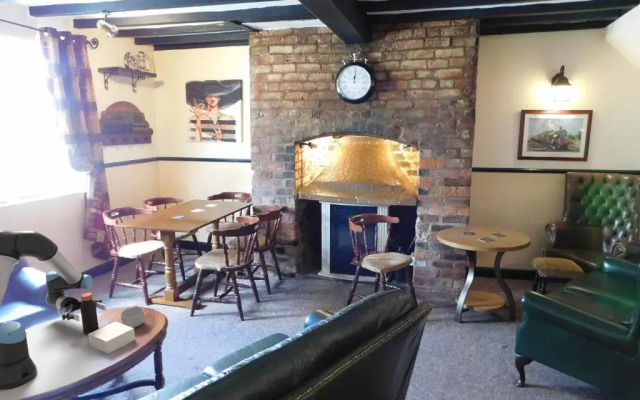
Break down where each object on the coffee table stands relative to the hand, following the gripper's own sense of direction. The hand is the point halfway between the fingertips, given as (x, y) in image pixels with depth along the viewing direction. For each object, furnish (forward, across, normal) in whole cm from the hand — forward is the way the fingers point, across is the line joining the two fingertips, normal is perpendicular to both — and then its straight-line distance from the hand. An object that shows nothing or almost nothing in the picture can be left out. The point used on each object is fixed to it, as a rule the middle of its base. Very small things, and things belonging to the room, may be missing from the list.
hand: (92, 312), depth 211 cm
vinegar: (-3, 0, -11) cm, 11 cm away
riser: (+16, +1, -11) cm, 20 cm away
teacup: (+9, -16, -11) cm, 22 cm away
